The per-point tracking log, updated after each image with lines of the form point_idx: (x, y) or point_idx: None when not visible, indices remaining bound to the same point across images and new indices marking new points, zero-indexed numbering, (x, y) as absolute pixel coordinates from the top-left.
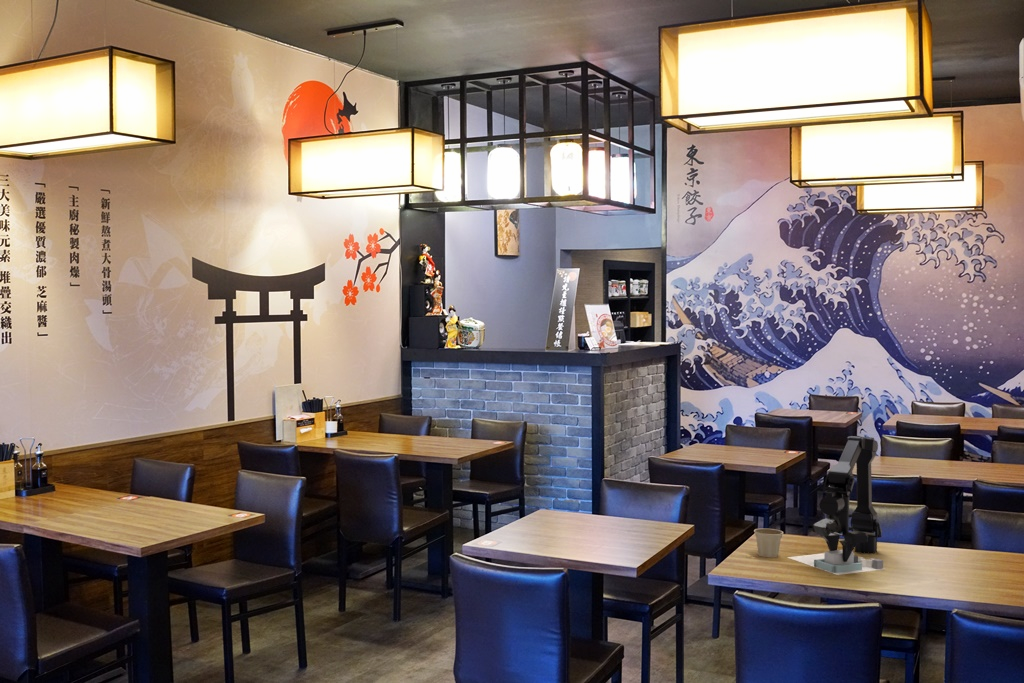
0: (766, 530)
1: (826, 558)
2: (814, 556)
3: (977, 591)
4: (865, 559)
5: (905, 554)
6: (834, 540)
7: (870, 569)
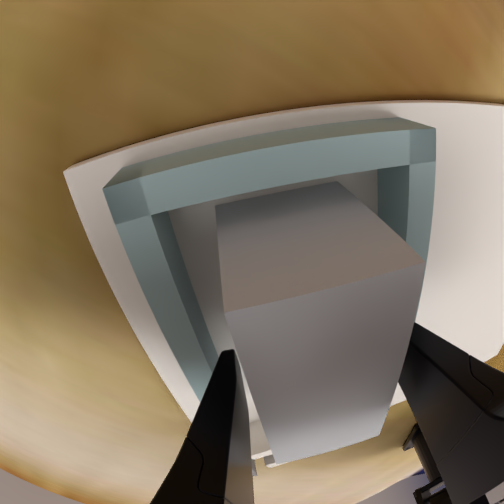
0: None
1: (349, 227)
2: None
3: (21, 465)
4: None
5: (372, 474)
6: (459, 456)
7: None
